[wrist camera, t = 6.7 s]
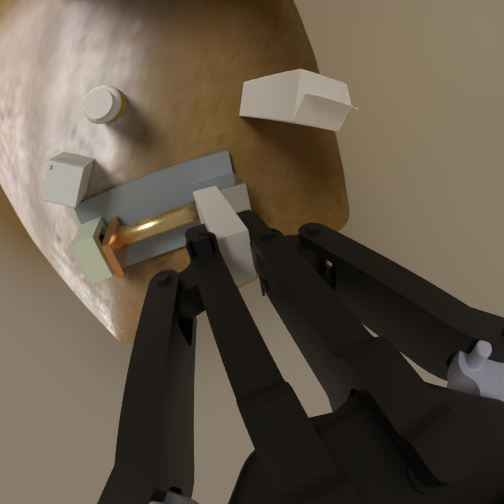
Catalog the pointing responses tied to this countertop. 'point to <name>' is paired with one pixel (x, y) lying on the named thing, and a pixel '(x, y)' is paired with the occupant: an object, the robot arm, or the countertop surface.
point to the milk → (297, 99)
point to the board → (154, 201)
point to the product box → (67, 179)
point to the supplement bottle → (104, 104)
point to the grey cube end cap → (229, 190)
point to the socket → (92, 251)
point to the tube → (142, 232)
